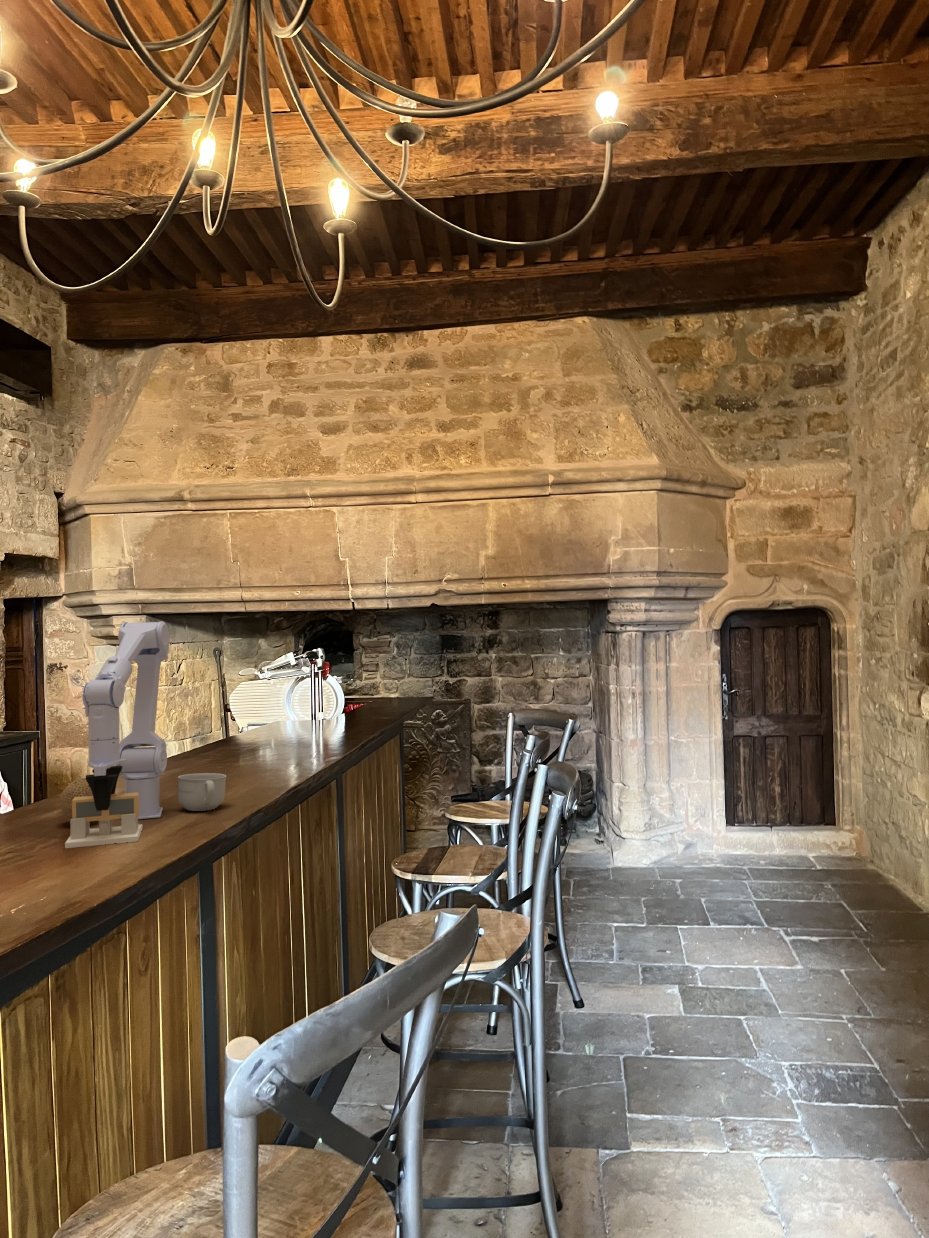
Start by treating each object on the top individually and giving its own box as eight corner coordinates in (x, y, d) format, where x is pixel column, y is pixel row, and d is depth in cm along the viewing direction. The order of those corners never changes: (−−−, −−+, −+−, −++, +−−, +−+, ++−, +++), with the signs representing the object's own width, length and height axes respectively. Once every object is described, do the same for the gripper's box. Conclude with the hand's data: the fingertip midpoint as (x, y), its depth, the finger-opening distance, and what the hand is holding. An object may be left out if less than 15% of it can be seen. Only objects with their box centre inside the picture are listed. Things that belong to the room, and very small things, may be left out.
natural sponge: (101, 826, 171) (101, 779, 171) (55, 830, 168) (55, 783, 169) (107, 817, 180) (106, 773, 180) (63, 821, 177) (62, 776, 177)
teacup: (177, 806, 190) (177, 773, 190) (225, 802, 194) (224, 769, 194) (178, 819, 177) (178, 782, 177) (229, 814, 181) (229, 778, 181)
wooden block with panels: (75, 819, 161) (74, 797, 161) (139, 813, 164) (138, 792, 165) (72, 822, 158) (72, 800, 158) (137, 817, 161) (137, 795, 161)
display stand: (74, 835, 164) (74, 811, 164) (142, 829, 168) (142, 805, 168) (65, 848, 154) (64, 822, 154) (137, 841, 158) (137, 816, 158)
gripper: (121, 741, 156) (122, 811, 155) (129, 733, 169) (129, 797, 169) (82, 744, 153) (82, 815, 153) (92, 735, 167) (93, 800, 167)
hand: (105, 806), depth 161 cm, fingers open, 7 cm apart
